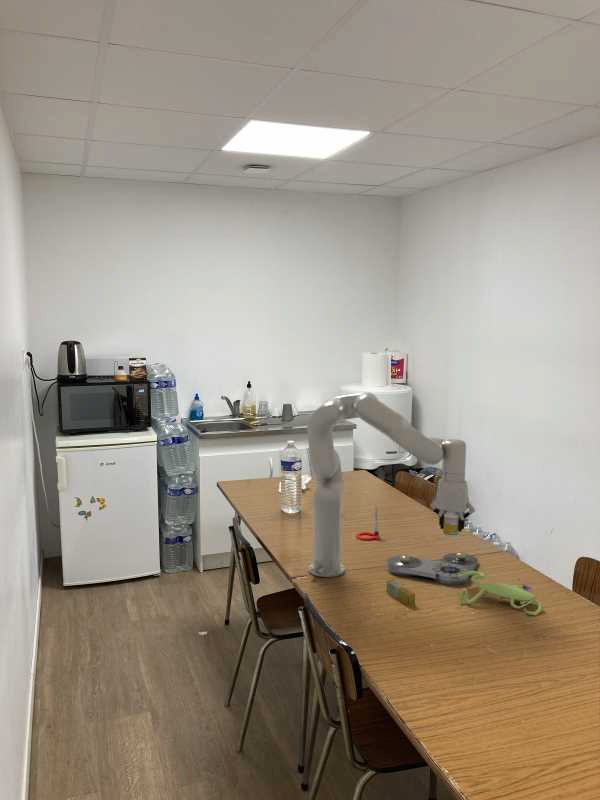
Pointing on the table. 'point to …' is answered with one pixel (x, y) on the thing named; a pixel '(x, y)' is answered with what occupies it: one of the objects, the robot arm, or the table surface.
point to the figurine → (501, 592)
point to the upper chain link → (424, 568)
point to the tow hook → (375, 534)
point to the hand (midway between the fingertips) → (451, 528)
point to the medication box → (401, 592)
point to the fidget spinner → (459, 559)
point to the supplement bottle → (451, 524)
